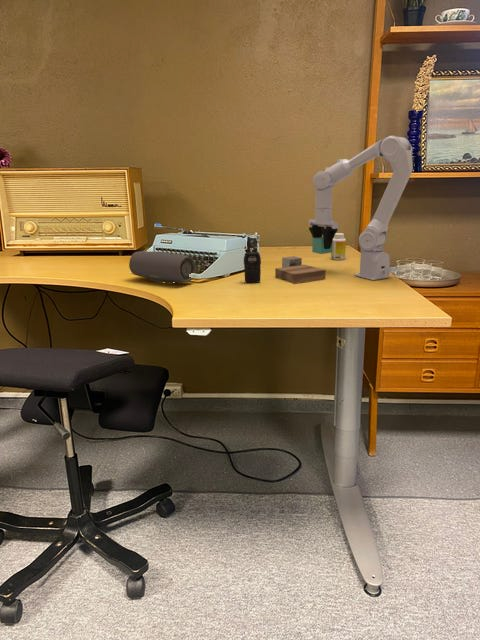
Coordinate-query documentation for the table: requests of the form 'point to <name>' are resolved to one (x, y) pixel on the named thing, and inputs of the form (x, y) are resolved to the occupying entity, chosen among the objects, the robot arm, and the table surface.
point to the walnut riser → (300, 273)
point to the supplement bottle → (338, 247)
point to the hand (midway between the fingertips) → (322, 247)
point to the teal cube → (320, 246)
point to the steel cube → (291, 261)
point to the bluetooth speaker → (162, 266)
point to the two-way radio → (252, 264)
